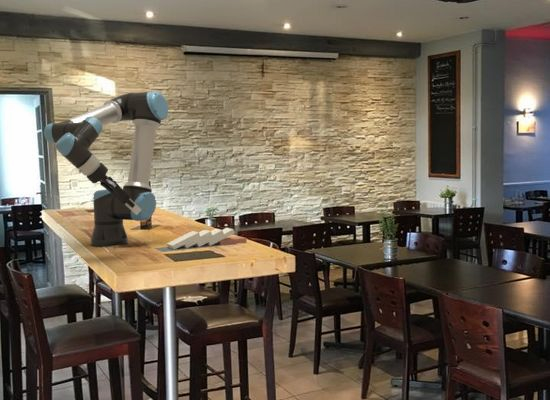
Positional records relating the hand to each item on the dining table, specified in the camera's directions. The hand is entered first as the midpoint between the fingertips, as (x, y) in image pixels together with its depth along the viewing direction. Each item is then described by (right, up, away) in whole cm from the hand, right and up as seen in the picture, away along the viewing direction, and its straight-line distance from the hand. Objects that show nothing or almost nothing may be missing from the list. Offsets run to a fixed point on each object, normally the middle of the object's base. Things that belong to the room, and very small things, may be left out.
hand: (138, 212), depth 233 cm
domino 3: (+20, -13, +13) cm, 27 cm away
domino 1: (+11, -14, +8) cm, 19 cm away
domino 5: (+28, -13, +18) cm, 36 cm away
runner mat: (+20, -14, +13) cm, 28 cm away
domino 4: (+24, -13, +16) cm, 31 cm away
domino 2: (+15, -13, +10) cm, 23 cm away
